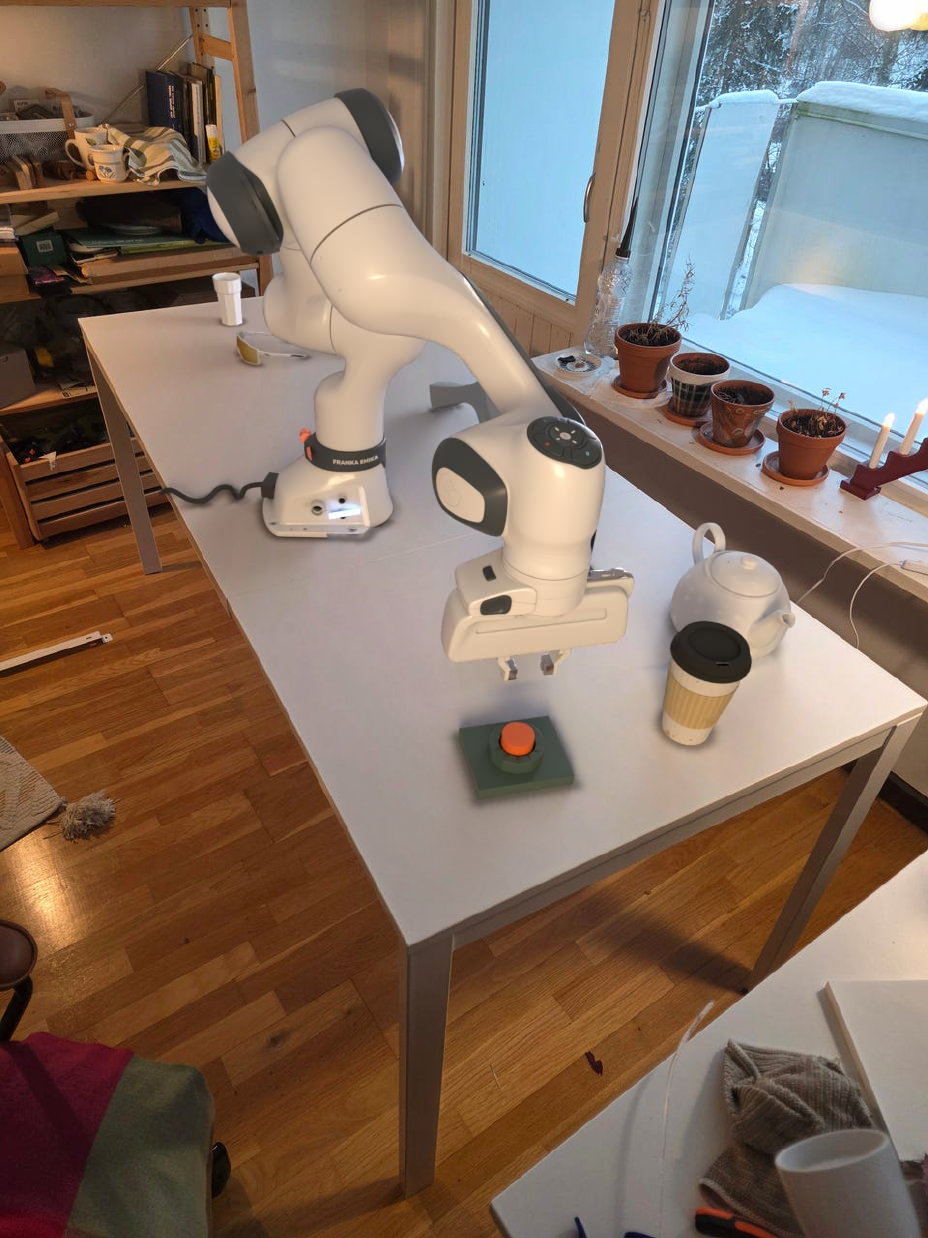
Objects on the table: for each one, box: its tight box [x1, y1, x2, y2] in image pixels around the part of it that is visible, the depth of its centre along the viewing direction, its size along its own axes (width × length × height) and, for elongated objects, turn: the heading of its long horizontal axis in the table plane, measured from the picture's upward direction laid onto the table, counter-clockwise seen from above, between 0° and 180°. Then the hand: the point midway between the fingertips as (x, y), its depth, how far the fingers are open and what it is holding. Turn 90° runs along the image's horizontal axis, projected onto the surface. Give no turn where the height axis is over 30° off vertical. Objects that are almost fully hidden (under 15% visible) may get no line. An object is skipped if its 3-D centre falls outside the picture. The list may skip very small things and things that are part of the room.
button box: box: [458, 715, 575, 800], centre depth 99 cm, size 12×10×4 cm
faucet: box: [429, 381, 501, 424], centre depth 161 cm, size 6×17×30 cm
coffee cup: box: [661, 621, 753, 746], centre depth 102 cm, size 10×10×15 cm
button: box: [501, 722, 535, 756], centre depth 98 cm, size 4×4×2 cm
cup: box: [211, 271, 243, 327], centre depth 200 cm, size 7×7×11 cm
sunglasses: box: [235, 329, 308, 366], centre depth 189 cm, size 14×15×5 cm
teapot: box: [669, 522, 796, 661], centre depth 119 cm, size 19×18×14 cm
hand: (528, 673), depth 91 cm, fingers open, 3 cm apart
